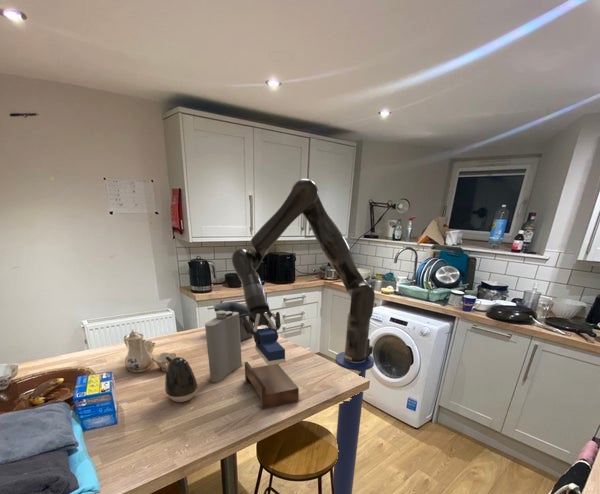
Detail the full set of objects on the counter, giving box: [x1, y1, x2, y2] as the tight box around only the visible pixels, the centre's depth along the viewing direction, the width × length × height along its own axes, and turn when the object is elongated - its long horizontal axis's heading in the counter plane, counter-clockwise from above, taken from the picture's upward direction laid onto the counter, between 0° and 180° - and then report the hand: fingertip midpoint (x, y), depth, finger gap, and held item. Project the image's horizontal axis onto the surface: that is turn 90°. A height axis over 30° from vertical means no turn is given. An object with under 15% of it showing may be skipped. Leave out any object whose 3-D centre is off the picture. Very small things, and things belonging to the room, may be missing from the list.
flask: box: [204, 311, 243, 383], centre depth 127 cm, size 17×5×25 cm, turn 155°
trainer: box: [254, 327, 286, 365], centre depth 113 cm, size 14×6×8 cm, turn 25°
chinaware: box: [123, 329, 177, 373], centre depth 134 cm, size 28×17×17 cm, turn 54°
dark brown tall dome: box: [164, 356, 198, 403], centre depth 112 cm, size 10×10×15 cm
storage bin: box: [212, 301, 254, 341], centre depth 165 cm, size 21×16×14 cm
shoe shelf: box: [244, 361, 300, 410], centre depth 119 cm, size 13×20×8 cm, turn 24°
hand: (267, 341), depth 115 cm, fingers closed on trainer, 5 cm apart
